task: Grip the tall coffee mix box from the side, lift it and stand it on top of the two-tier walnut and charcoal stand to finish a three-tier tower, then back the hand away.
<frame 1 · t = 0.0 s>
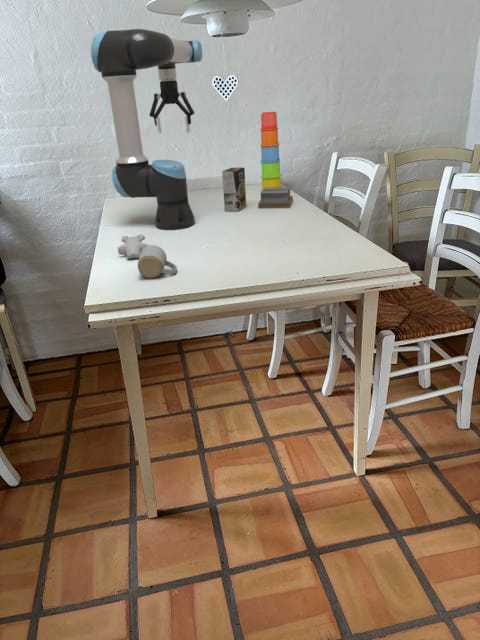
hand: (173, 132, 216), 28 cm above the table, tool pointing down, fingers open, 13 cm apart
stacking cups: (271, 192, 224), on the table
coffee box: (235, 209, 200), on the table
tower stand: (275, 204, 203), on the table
ceramic mug: (158, 274, 138), on the table
grey teddy bear: (134, 253, 156), on the table
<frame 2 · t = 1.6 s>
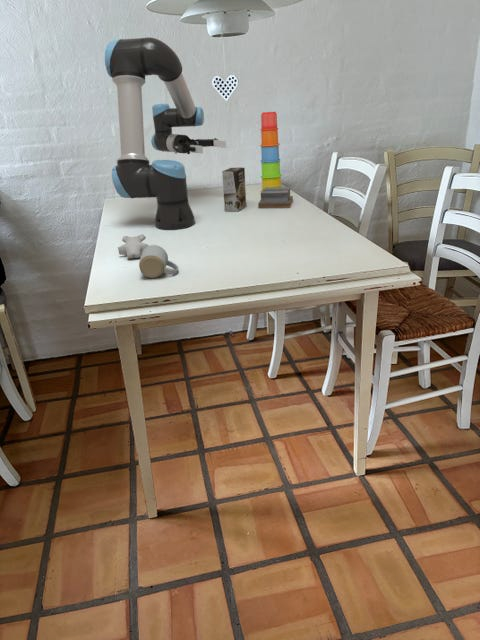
hand: (214, 146, 194), 24 cm above the table, tool horizontal, fingers open, 13 cm apart
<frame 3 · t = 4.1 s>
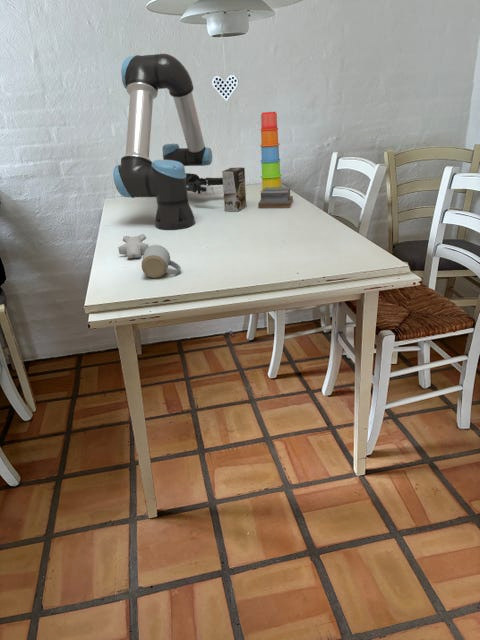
hand: (224, 186, 200), 8 cm above the table, tool horizontal, fingers open, 13 cm apart
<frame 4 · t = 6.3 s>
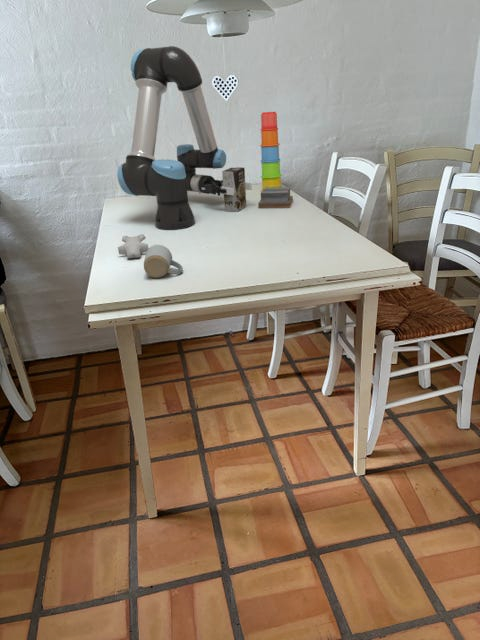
hand: (242, 189, 193), 9 cm above the table, tool horizontal, fingers closed on coffee box, 10 cm apart
coffee box: (235, 209, 200), on the table, touching gripper
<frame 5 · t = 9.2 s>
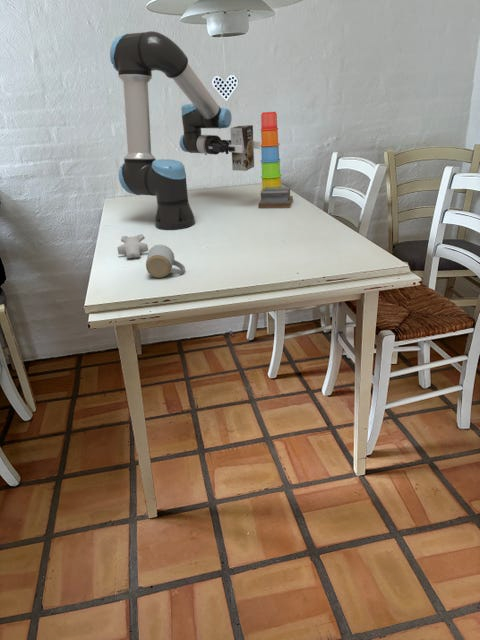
hand: (251, 147, 188), 24 cm above the table, tool horizontal, fingers closed on coffee box, 10 cm apart
coffee box: (243, 169, 194), point 15 cm above the table, touching gripper
when the fingers open (16 cm above the table, at t = 12.4 s): coffee box drops 1 cm, resting on tower stand.
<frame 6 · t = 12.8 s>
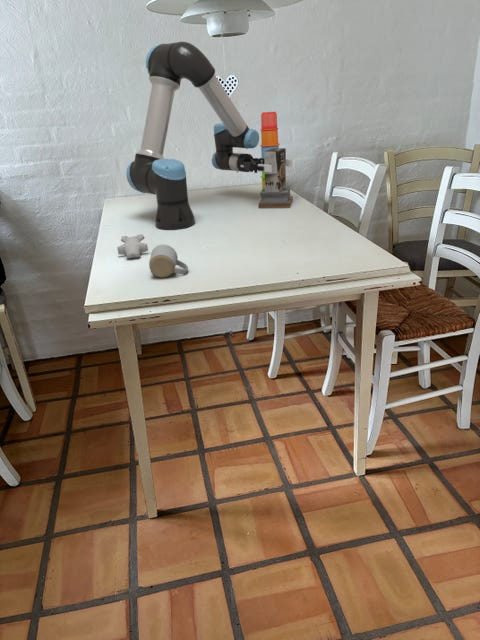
hand: (281, 165, 193), 16 cm above the table, tool horizontal, fingers open, 13 cm apart
coffee box: (275, 190, 200), point 6 cm above the table, touching tower stand
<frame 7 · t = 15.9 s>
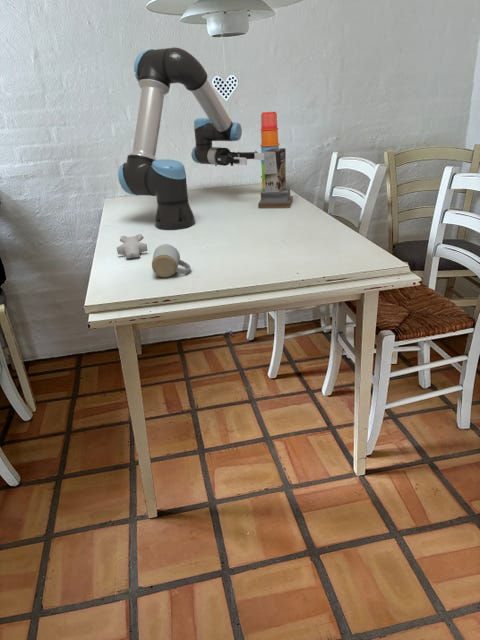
hand: (256, 159, 200), 18 cm above the table, tool horizontal, fingers open, 13 cm apart
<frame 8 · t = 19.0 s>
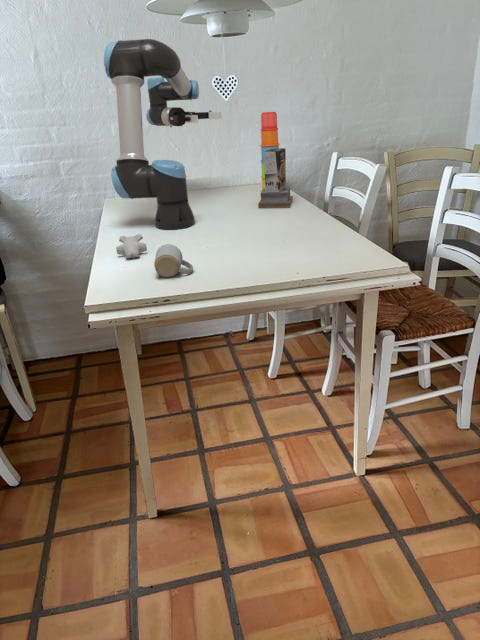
hand: (209, 117, 195), 35 cm above the table, tool horizontal, fingers open, 13 cm apart
at the end: coffee box inside the target area on the tower stand (0.1 cm from its centre), point 5.8 cm above the tower stand's base; coffee box tilted 0°; the gripper is holding nothing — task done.
